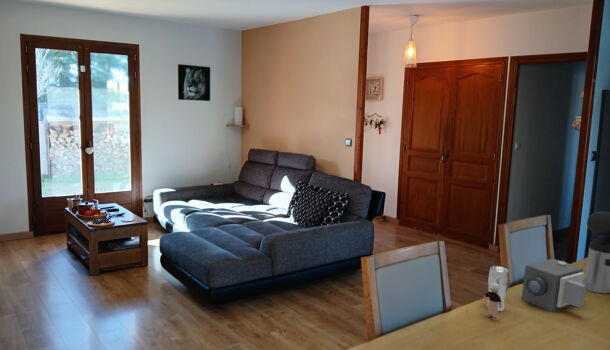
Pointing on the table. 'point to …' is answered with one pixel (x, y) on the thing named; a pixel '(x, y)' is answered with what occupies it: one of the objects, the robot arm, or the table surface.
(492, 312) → the grandmother figurine
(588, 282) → the robot arm
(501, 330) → the table surface
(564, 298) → the side door
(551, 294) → the box
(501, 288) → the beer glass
